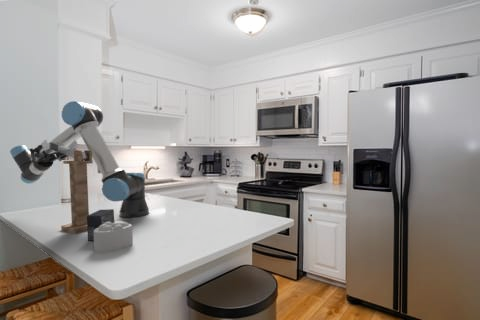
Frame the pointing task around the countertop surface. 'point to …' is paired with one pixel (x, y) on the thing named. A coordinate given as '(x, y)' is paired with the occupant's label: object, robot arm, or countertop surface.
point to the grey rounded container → (112, 236)
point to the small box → (98, 221)
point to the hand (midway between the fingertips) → (62, 142)
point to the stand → (78, 192)
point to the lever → (65, 150)
